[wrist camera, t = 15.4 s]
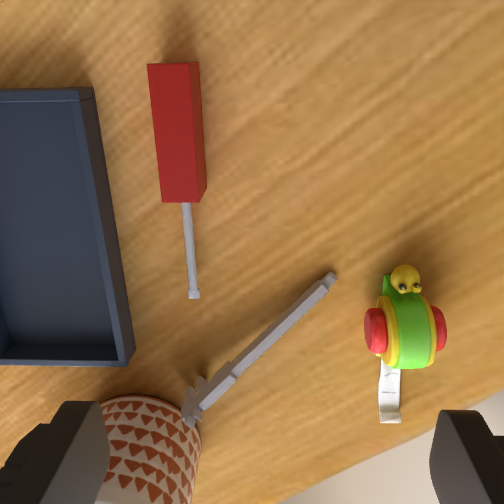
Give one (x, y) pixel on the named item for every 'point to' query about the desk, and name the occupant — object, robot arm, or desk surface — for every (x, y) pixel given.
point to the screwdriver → (179, 145)
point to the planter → (148, 453)
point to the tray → (58, 235)
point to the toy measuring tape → (402, 335)
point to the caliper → (249, 354)
